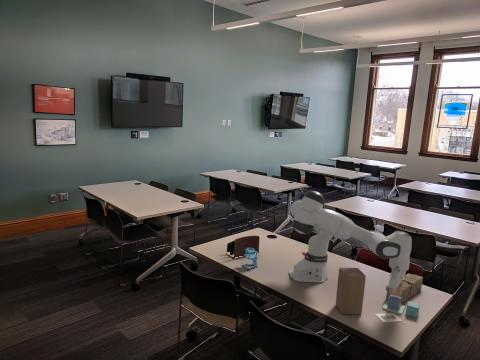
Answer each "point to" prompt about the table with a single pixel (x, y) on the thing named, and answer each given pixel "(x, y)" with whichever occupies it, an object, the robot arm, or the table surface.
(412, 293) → the block tower
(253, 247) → the letter holder
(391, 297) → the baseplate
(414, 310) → the teal cube
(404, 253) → the robot arm
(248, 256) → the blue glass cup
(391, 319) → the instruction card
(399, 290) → the orange cube
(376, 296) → the table surface
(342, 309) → the wooden block
